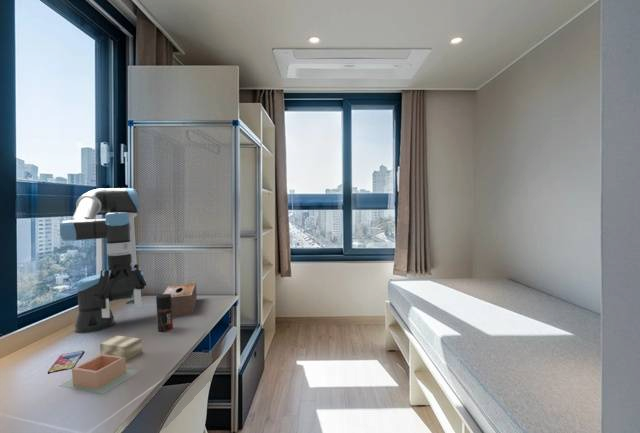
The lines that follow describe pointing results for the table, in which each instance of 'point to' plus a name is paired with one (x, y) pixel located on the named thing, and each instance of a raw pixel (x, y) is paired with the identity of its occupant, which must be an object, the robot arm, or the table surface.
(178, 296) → the tissue box cover
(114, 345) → the beige block
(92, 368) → the peach open-top box
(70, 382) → the felt mat
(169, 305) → the deodorant
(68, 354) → the smartphone
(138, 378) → the table surface
